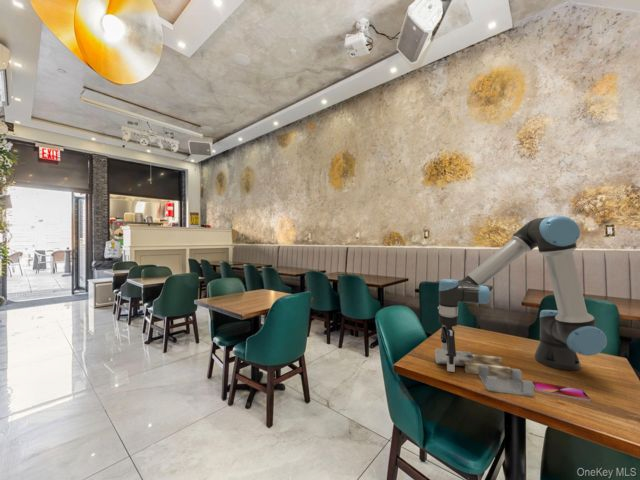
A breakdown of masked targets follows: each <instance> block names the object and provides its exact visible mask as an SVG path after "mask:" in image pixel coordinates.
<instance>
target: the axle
mask: <svg viewBox="0 0 640 480" xmlns="http://www.w3.org/2000/svg"><path fill="white" fill-rule="evenodd" d="M446 354H448V350H444V349H441V348H435V350H434V358H435V359H434V360H435V363H436V364H437V365H438V364H439V365H447V356H446ZM472 354H473V353H472V352H471V351H464V350H463V351H462V350H456V357H455V366H458V367H463V366H465V362H469V363H473V356H472Z"/></svg>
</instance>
